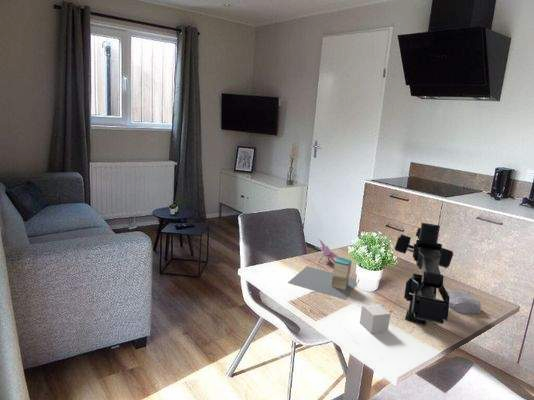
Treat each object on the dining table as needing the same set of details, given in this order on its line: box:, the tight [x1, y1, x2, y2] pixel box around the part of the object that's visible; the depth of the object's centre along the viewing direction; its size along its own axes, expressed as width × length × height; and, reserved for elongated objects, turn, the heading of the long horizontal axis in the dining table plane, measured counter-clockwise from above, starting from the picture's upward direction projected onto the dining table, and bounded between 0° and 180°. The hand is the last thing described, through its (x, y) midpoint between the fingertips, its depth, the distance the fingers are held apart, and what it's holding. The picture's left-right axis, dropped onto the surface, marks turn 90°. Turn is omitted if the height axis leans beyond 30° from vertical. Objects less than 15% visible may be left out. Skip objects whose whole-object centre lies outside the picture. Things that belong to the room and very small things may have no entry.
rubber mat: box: [287, 265, 358, 300], centre depth 147 cm, size 20×22×1 cm
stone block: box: [446, 289, 482, 314], centre depth 138 cm, size 12×5×10 cm
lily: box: [318, 238, 339, 263], centre depth 166 cm, size 12×12×10 cm
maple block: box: [332, 256, 353, 290], centre depth 144 cm, size 5×5×10 cm
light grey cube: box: [359, 303, 391, 334], centre depth 118 cm, size 6×6×6 cm
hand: (421, 247), depth 146 cm, fingers open, 9 cm apart
